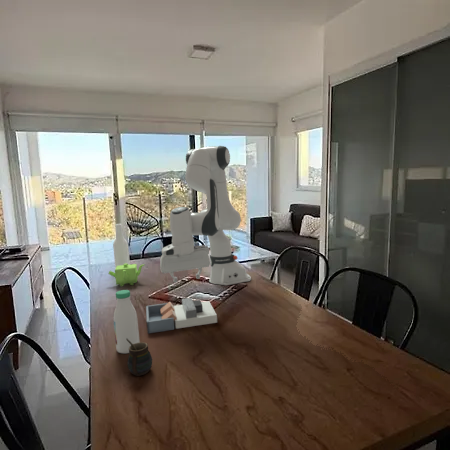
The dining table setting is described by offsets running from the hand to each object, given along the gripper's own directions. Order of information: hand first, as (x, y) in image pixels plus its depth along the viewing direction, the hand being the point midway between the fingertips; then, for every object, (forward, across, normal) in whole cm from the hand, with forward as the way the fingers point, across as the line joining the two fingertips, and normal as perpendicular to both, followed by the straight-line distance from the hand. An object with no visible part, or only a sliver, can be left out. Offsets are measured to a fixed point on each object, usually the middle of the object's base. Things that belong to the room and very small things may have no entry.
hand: (186, 280), depth 144 cm
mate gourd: (+13, +21, +40) cm, 47 cm away
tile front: (+12, +9, +10) cm, 18 cm away
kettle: (+15, +26, -54) cm, 62 cm away
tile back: (+12, +9, +1) cm, 15 cm away
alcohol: (+16, +30, -83) cm, 89 cm away
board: (+14, -1, +6) cm, 15 cm away
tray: (+14, +13, +6) cm, 20 cm away
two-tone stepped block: (+10, +3, +6) cm, 12 cm away
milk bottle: (+13, +25, +24) cm, 36 cm away
